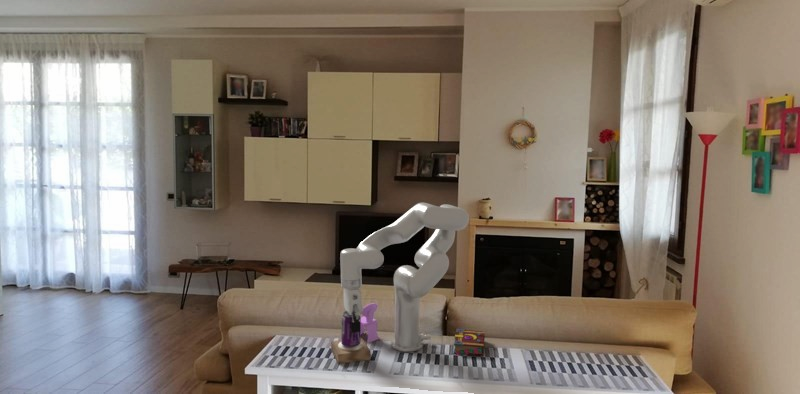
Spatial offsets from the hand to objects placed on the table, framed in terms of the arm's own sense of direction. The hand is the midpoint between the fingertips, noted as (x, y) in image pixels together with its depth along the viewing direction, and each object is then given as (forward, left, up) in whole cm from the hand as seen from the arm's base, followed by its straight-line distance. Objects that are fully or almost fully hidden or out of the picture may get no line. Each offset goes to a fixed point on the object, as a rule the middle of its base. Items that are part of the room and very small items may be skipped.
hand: (352, 326), depth 200 cm
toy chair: (-9, -14, -11) cm, 20 cm away
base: (+1, 0, -11) cm, 11 cm away
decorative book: (-45, +7, -11) cm, 47 cm away
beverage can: (+1, 0, -7) cm, 7 cm away
